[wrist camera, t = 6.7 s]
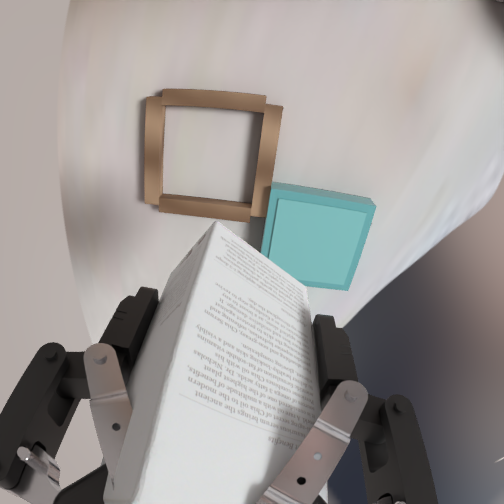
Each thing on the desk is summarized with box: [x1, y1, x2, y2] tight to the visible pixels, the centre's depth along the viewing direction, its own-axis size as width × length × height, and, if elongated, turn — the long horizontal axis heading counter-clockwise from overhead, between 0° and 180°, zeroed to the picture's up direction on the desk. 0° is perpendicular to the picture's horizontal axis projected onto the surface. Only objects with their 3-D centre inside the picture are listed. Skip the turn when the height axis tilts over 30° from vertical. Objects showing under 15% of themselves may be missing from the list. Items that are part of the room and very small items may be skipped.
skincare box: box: [101, 221, 328, 504], centre depth 11 cm, size 6×4×12 cm
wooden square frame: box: [144, 89, 283, 223], centre depth 26 cm, size 12×12×1 cm
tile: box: [260, 182, 376, 291], centre depth 30 cm, size 10×10×2 cm
